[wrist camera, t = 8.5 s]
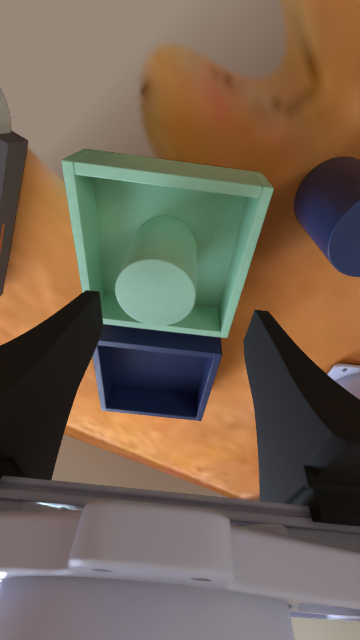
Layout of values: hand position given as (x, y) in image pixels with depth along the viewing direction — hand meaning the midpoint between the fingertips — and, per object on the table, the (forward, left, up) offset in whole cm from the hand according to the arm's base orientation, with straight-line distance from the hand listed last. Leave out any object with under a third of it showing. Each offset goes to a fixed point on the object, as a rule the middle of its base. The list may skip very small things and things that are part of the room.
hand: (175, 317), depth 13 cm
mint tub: (+1, 0, -9) cm, 9 cm away
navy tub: (+1, +13, -9) cm, 16 cm away
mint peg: (+1, 0, -8) cm, 8 cm away
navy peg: (-9, -4, -9) cm, 13 cm away
